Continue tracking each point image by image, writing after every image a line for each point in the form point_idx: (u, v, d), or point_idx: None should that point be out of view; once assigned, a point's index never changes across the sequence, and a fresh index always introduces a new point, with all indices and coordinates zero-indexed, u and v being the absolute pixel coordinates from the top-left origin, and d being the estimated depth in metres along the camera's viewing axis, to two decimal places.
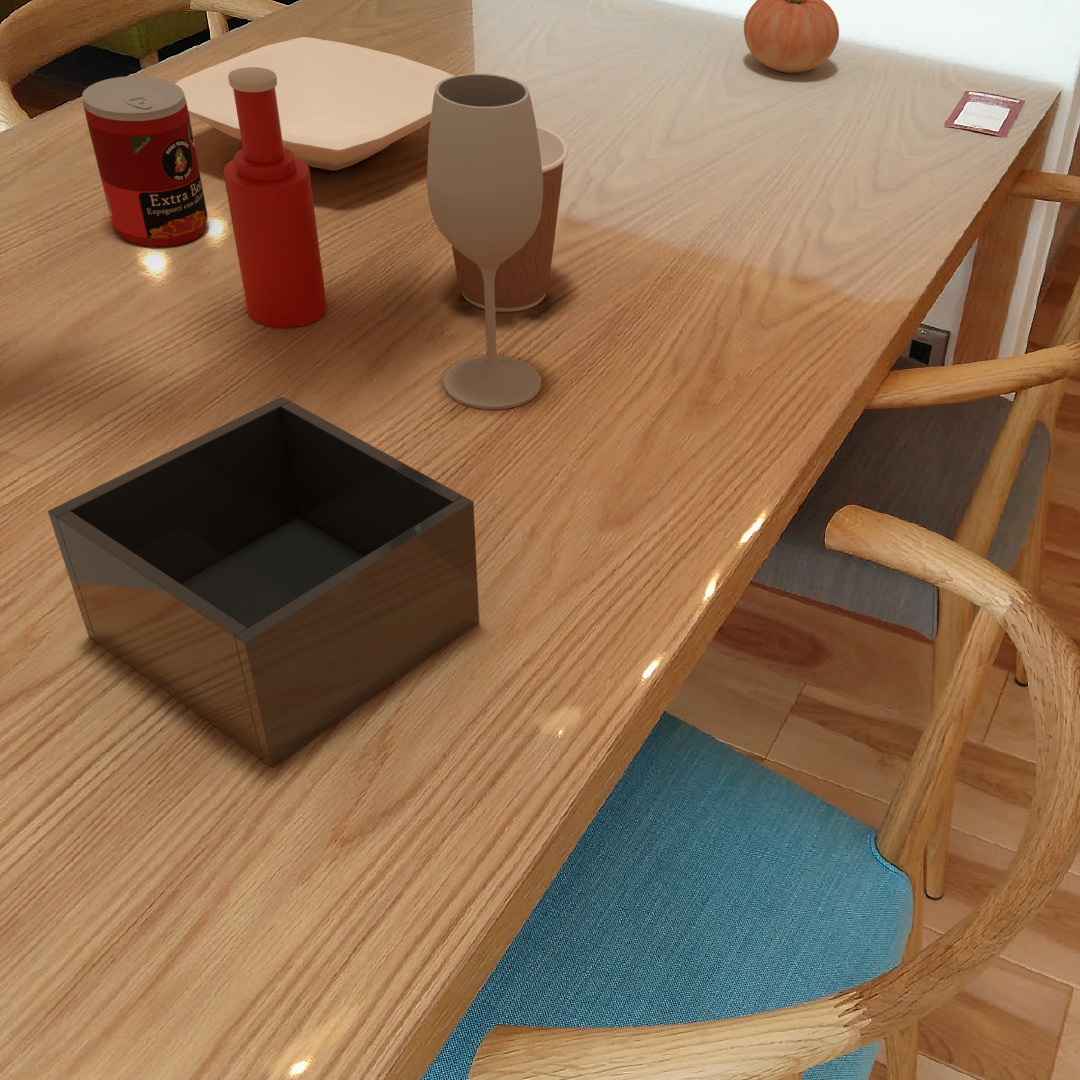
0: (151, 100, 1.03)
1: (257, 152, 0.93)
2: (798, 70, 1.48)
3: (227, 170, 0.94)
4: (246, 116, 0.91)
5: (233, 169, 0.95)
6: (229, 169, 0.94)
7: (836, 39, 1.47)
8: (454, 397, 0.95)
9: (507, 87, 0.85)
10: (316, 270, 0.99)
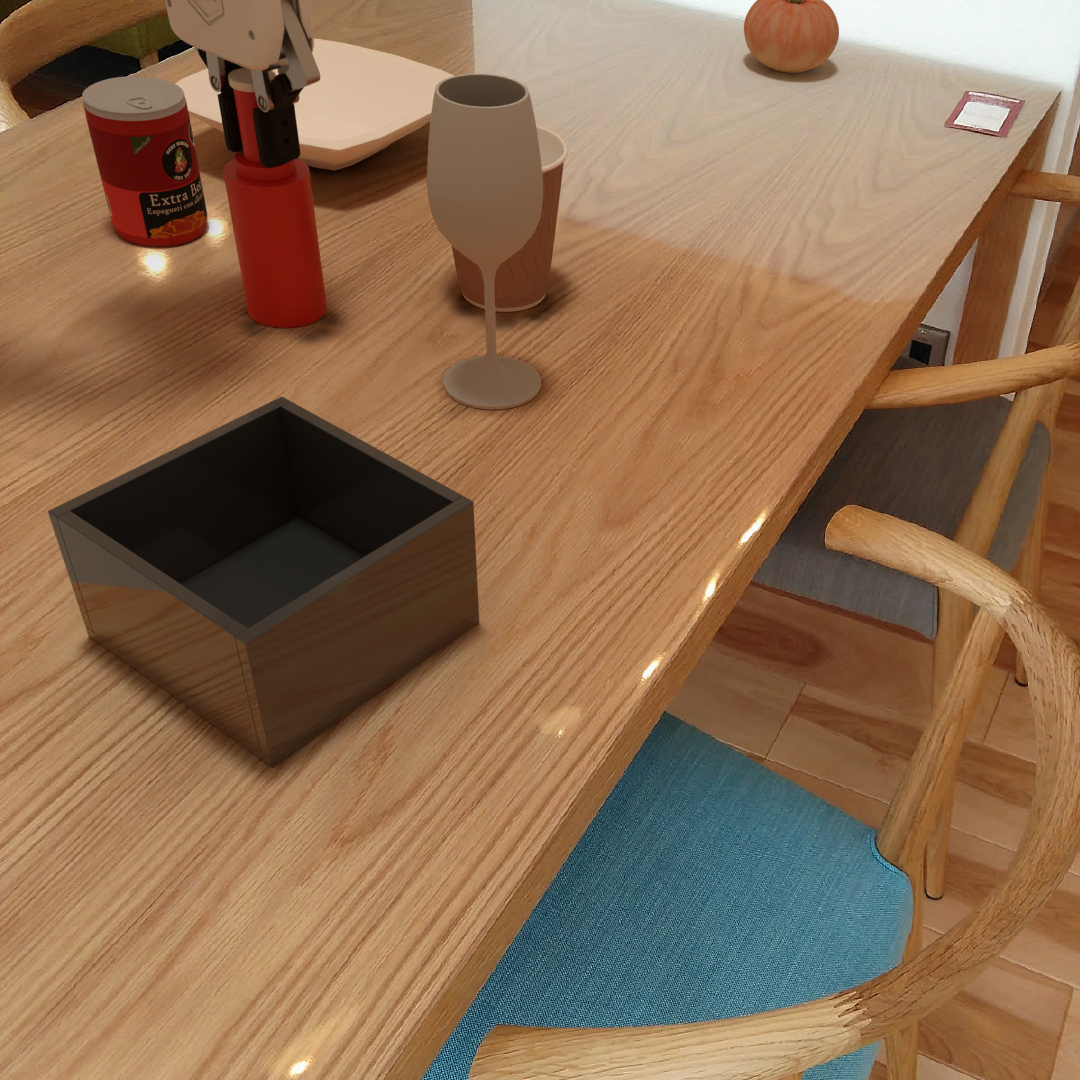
0: (151, 100, 1.03)
1: (257, 152, 0.93)
2: (798, 70, 1.48)
3: (227, 170, 0.94)
4: (246, 116, 0.91)
5: (233, 169, 0.95)
6: (229, 169, 0.94)
7: (836, 39, 1.47)
8: (454, 397, 0.95)
9: (507, 87, 0.85)
10: (316, 270, 0.99)
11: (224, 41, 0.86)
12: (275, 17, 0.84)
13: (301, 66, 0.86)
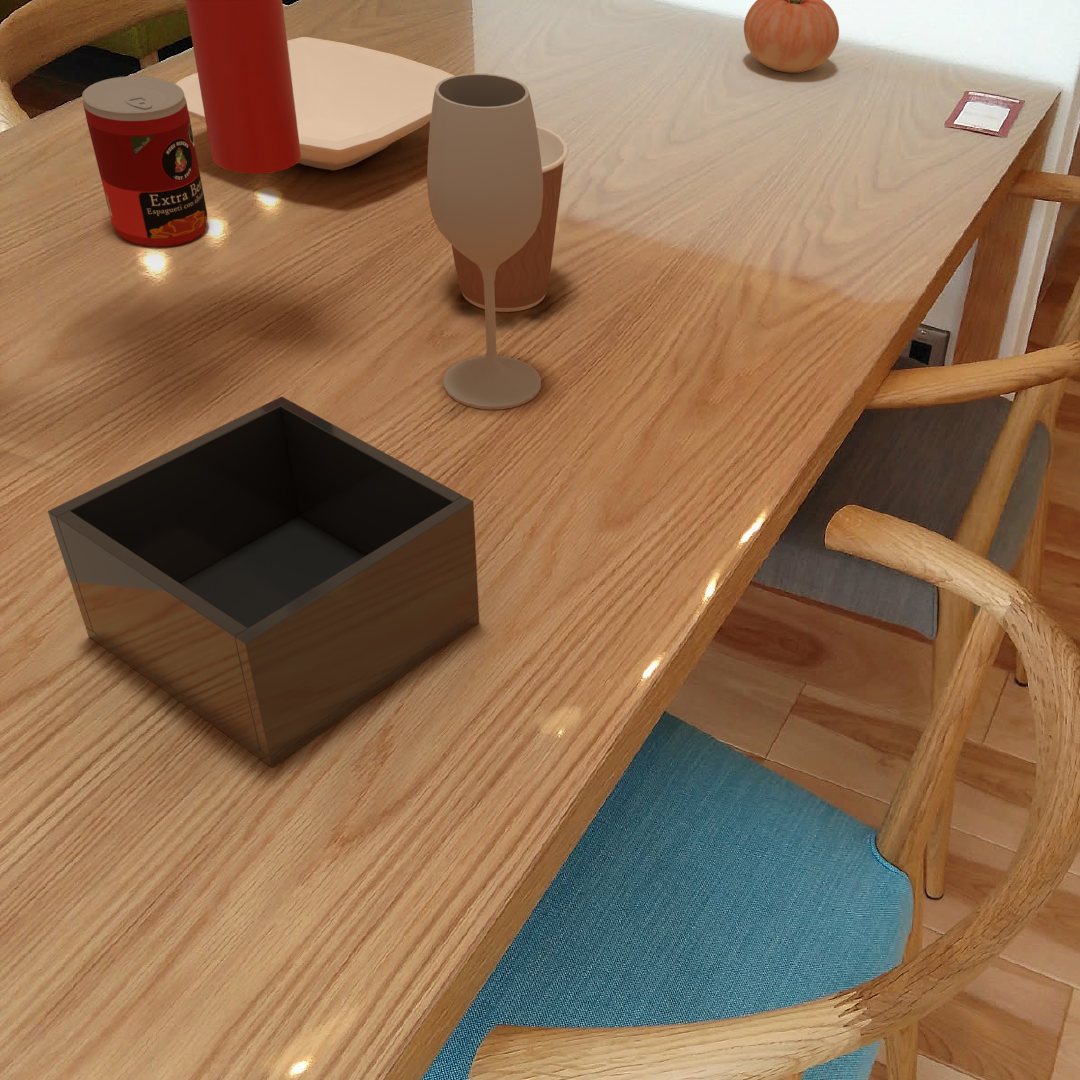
0: (151, 100, 1.03)
1: None
2: (798, 70, 1.48)
3: None
4: None
5: None
6: None
7: (836, 39, 1.47)
8: (454, 397, 0.95)
9: (507, 87, 0.85)
10: (289, 107, 0.89)
11: None
12: None
13: None
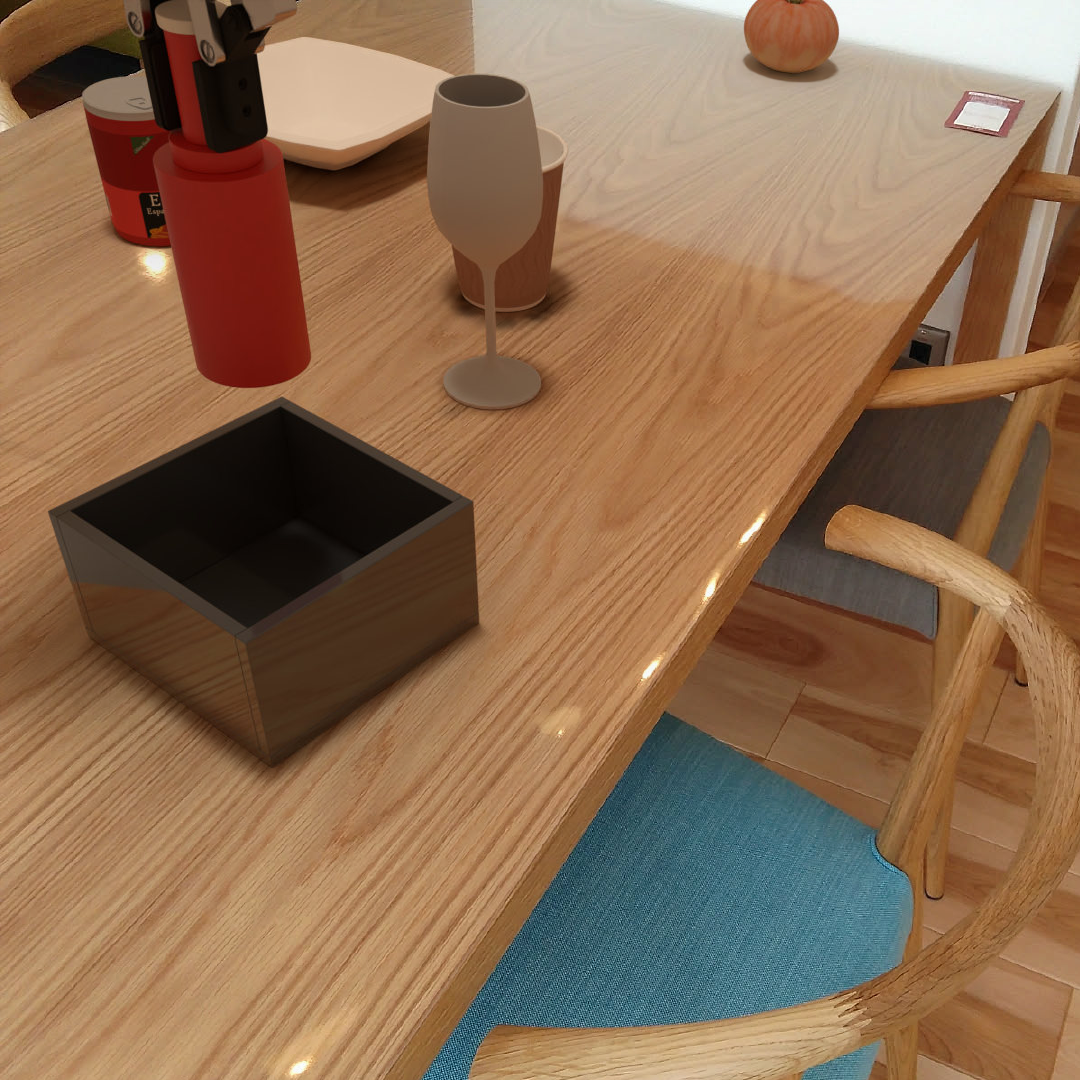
0: None
1: (203, 129, 0.61)
2: (798, 70, 1.48)
3: (158, 157, 0.63)
4: (184, 73, 0.59)
5: (168, 155, 0.63)
6: (162, 156, 0.63)
7: (836, 39, 1.47)
8: (454, 397, 0.95)
9: (507, 87, 0.85)
10: (296, 303, 0.68)
11: None
12: None
13: None
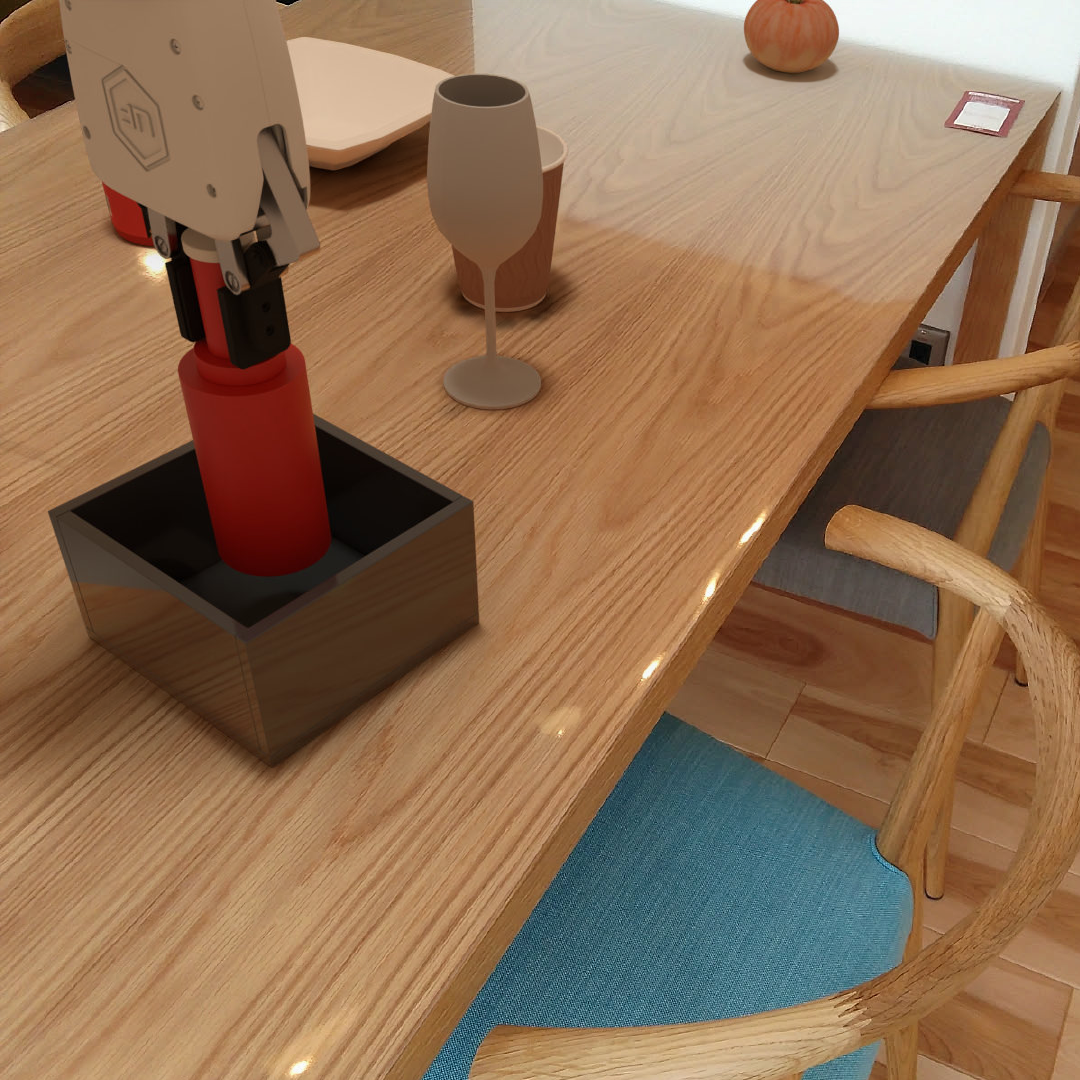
0: None
1: None
2: (798, 70, 1.48)
3: (183, 366, 0.64)
4: (209, 295, 0.60)
5: (192, 364, 0.64)
6: (186, 364, 0.64)
7: (836, 39, 1.47)
8: (454, 397, 0.95)
9: (507, 87, 0.85)
10: (316, 496, 0.69)
11: (171, 195, 0.55)
12: (249, 163, 0.53)
13: (290, 234, 0.55)
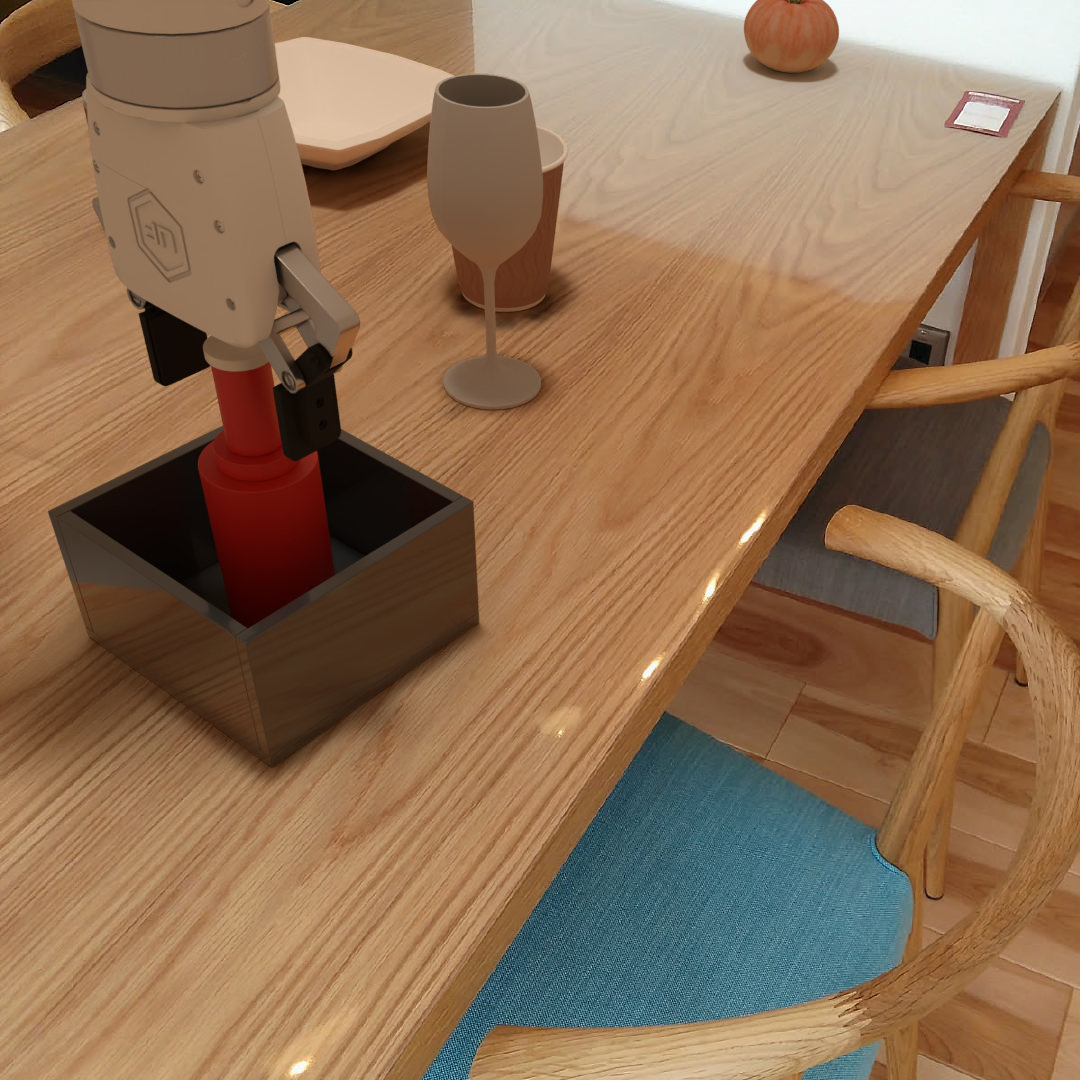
0: None
1: (245, 443, 0.66)
2: (798, 70, 1.48)
3: (203, 460, 0.67)
4: (229, 399, 0.64)
5: (211, 458, 0.68)
6: (206, 459, 0.68)
7: (836, 39, 1.47)
8: (454, 397, 0.95)
9: (507, 87, 0.85)
10: (327, 577, 0.73)
11: (191, 305, 0.59)
12: (266, 279, 0.57)
13: (325, 310, 0.57)
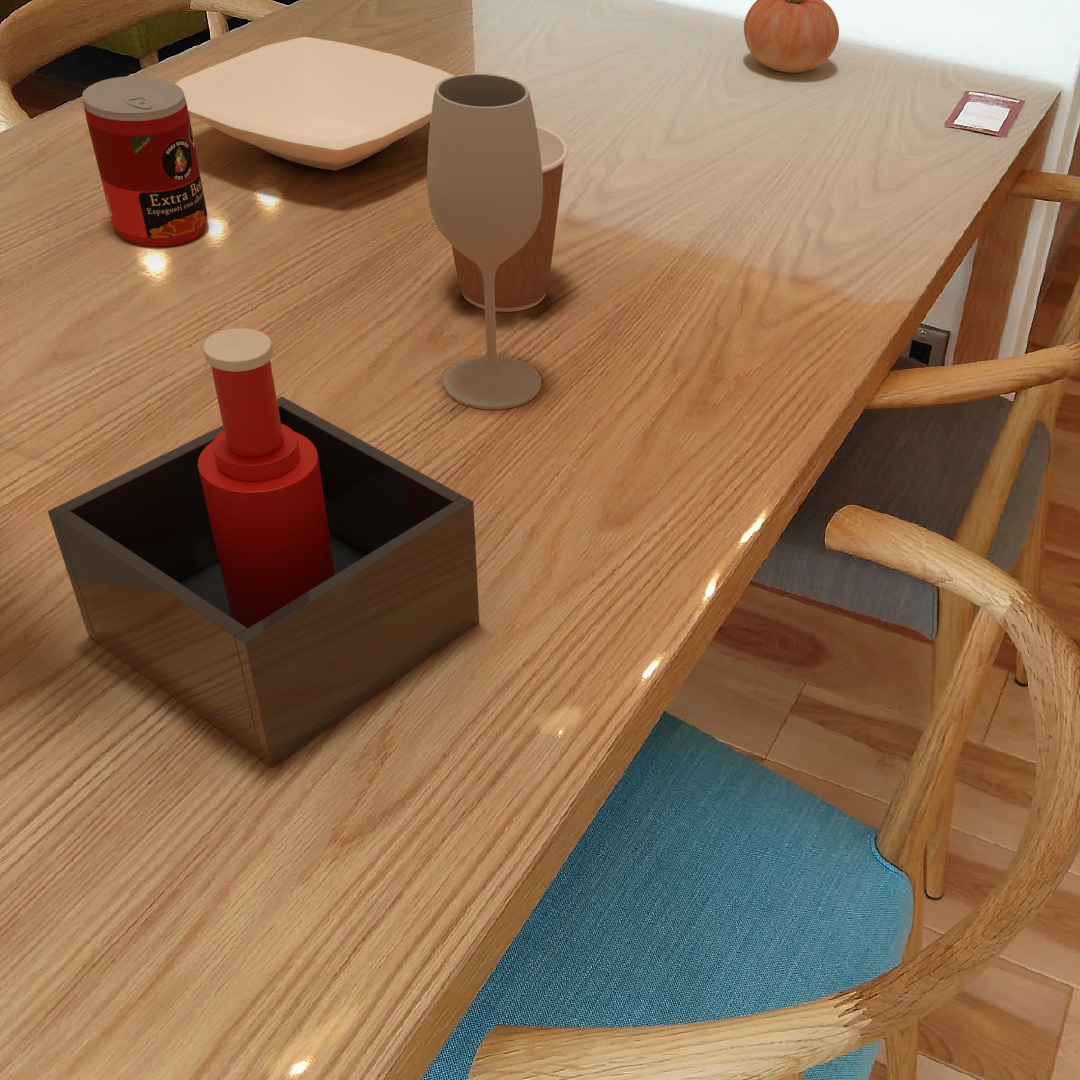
0: (151, 100, 1.03)
1: (245, 443, 0.66)
2: (798, 70, 1.48)
3: (203, 460, 0.67)
4: (229, 399, 0.64)
5: (211, 458, 0.68)
6: (206, 459, 0.68)
7: (836, 39, 1.47)
8: (454, 397, 0.95)
9: (507, 87, 0.85)
10: (327, 577, 0.73)
11: None
12: None
13: None
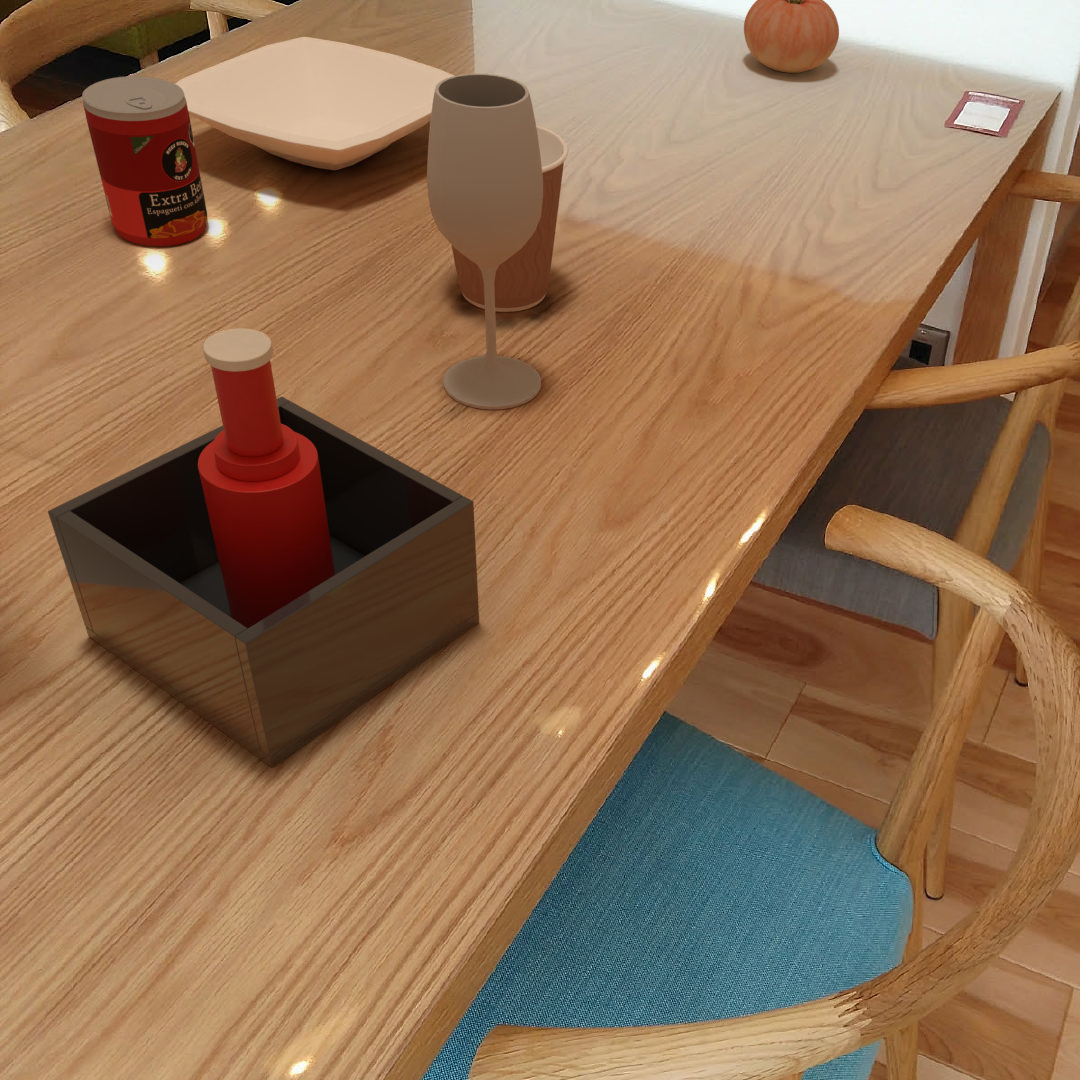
0: (151, 100, 1.03)
1: (245, 443, 0.66)
2: (798, 70, 1.48)
3: (203, 460, 0.67)
4: (229, 399, 0.64)
5: (211, 458, 0.68)
6: (206, 459, 0.68)
7: (836, 39, 1.47)
8: (454, 397, 0.95)
9: (507, 87, 0.85)
10: (327, 577, 0.73)
11: None
12: None
13: None
